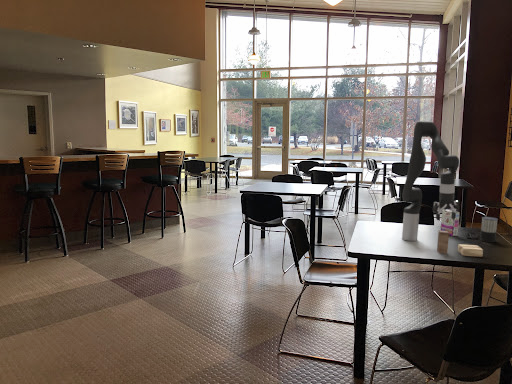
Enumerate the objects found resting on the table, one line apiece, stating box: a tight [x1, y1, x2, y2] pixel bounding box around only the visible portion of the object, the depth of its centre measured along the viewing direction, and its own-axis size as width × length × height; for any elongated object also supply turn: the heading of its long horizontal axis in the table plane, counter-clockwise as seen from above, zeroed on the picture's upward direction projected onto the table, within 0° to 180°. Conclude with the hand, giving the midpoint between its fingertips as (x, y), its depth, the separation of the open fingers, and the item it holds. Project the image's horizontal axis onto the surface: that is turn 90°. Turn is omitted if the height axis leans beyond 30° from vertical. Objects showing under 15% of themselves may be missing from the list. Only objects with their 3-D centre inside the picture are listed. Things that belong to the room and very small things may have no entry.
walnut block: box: [436, 230, 450, 255], centre depth 236 cm, size 4×4×12 cm
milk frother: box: [465, 216, 499, 243], centre depth 271 cm, size 14×16×15 cm
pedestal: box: [457, 243, 484, 258], centre depth 235 cm, size 10×10×4 cm
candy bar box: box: [440, 209, 461, 237], centre depth 284 cm, size 11×5×16 cm, turn 21°
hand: (445, 219), depth 233 cm, fingers open, 8 cm apart
